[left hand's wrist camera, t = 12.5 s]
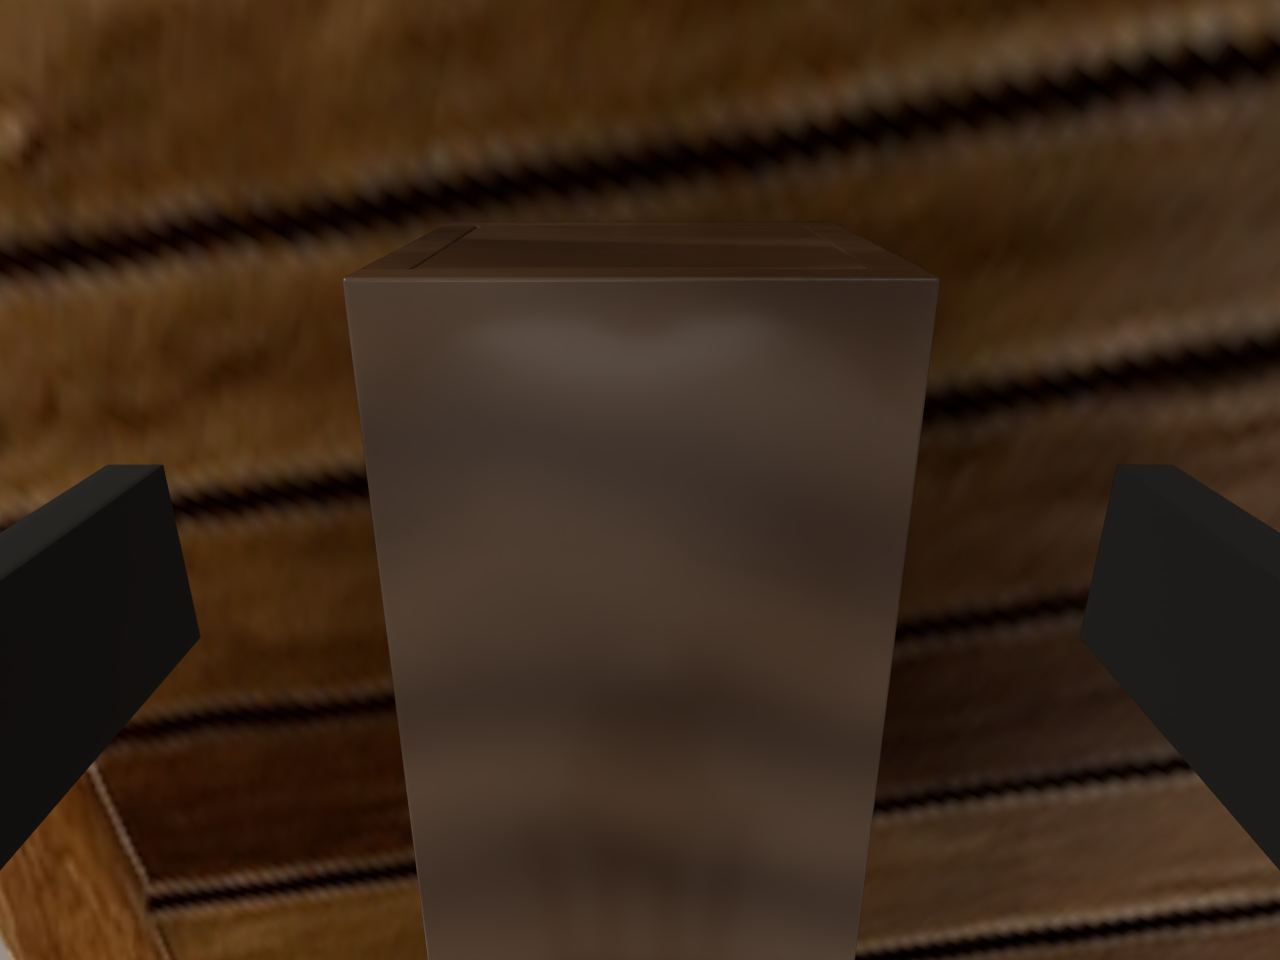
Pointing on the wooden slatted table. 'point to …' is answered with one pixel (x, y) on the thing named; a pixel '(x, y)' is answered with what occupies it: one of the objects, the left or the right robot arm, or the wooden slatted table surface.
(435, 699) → the cabinet
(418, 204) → the wooden slatted table surface
